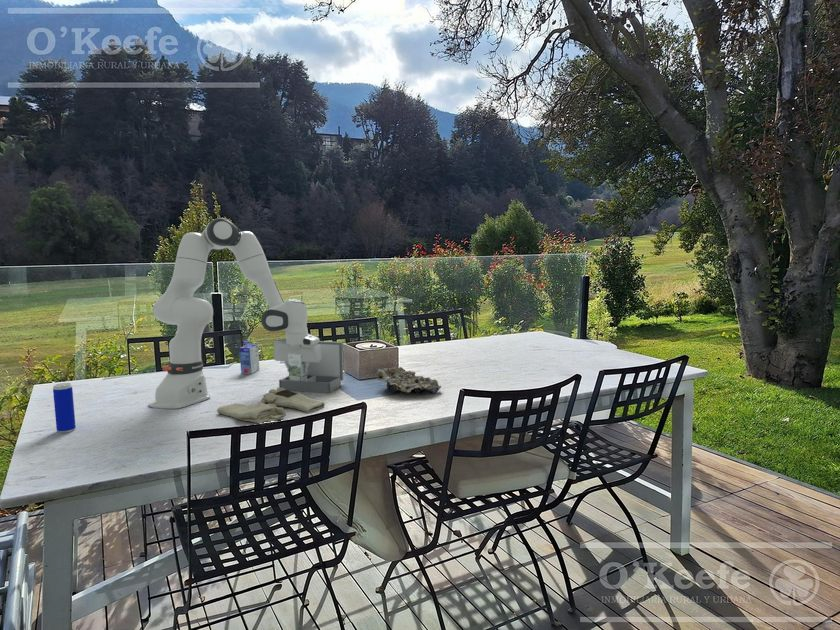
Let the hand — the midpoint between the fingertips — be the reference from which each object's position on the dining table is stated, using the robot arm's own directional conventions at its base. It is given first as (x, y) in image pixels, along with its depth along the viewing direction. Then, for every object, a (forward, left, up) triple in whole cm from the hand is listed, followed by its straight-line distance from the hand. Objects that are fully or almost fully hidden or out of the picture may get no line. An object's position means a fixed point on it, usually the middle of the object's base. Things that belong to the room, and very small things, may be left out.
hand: (298, 372), depth 233 cm
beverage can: (-67, +48, -6) cm, 83 cm away
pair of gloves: (-32, -5, -7) cm, 33 cm away
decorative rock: (+6, -44, -7) cm, 45 cm away
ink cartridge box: (+21, +35, -7) cm, 41 cm away
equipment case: (+2, -5, -6) cm, 8 cm away
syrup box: (0, 0, -6) cm, 6 cm away
